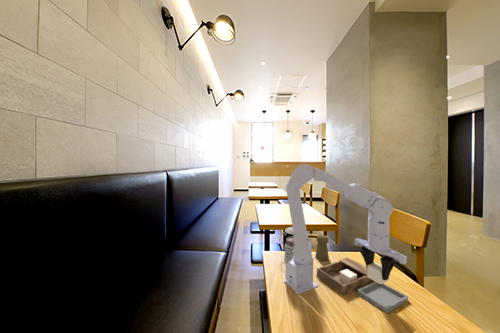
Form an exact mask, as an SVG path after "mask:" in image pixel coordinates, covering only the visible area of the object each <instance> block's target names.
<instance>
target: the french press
mask: <svg viewBox="0 0 500 333" xmlns="http://www.w3.org/2000/svg"><path fill="white" fill-rule="evenodd" d="M283 234H284V236H285V242H284V244H283V242H282V240H281V237H282V235H283ZM287 234H288V235H292V236H288V237H286V236H287ZM278 241H279V244H280V246H281V247H282V248H283V250H284V256H283V257H282V258H283V262H284V263H286V264H287V263H288V262H290V261H291V260H292V259H293V251H294V232H293V226H289V227H287V228H285V230H284V232H282V233H281V234H280V235H279V239H278Z"/></svg>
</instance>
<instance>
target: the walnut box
mask: <svg viewBox="0 0 500 333" xmlns="http://www.w3.org/2000/svg"><path fill="white" fill-rule="evenodd" d="M345 269H348V270H349V271H351V272H353V273H355V274H357V279H356V280H354V281H351V282H349V283H346V284H344V285H343V284H341V283H340V271H343V270H345ZM316 277H317V278H319V279H320V280H321V281H323V282H324V283H326V284H327V285H329V286H330V287H331V288H332V289H334V290H335V291H337V292H338V293H339V294H341V295H342V296H345V295H347V294H350V293H352V292H354V291H356V290H358V289H360V288H363V287H365V286H367V285H369V284H372V283H374V282H375V281H373V280H372V279H370V278H368V277H367V267H366V265H363V264H362V263H359V262H357V261H355V260H353V259H351V258H350V257H344V258H340V259H339V261H335V262H333V263H330V264H326V265H323V266H320V267H317V268H316Z"/></svg>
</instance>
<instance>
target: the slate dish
mask: <svg viewBox="0 0 500 333" xmlns="http://www.w3.org/2000/svg"><path fill="white" fill-rule="evenodd" d="M357 295H358V296H360V297H361V298H363V299H364V300H366V301H367V302H369V303H370V304H372V305H373V306H375V307H377V308H378V309H379V310H381V311H382V312H384V313H385V314H389V313H390V312H392V311H394V310H395V309H397V308H398V307H401V306H402V305H403V304H405V303H407V302H408V301H409V296H407V295H406V294H404V293H402V292H401V291H398V290H397V289H395V288H393V287H391V286H389V285H387V284H386V283H383V284H379V283H377V282H375V281H374V282H372V283H370V284H368V285H366V286H363V287H361V288H359V289H357Z"/></svg>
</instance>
